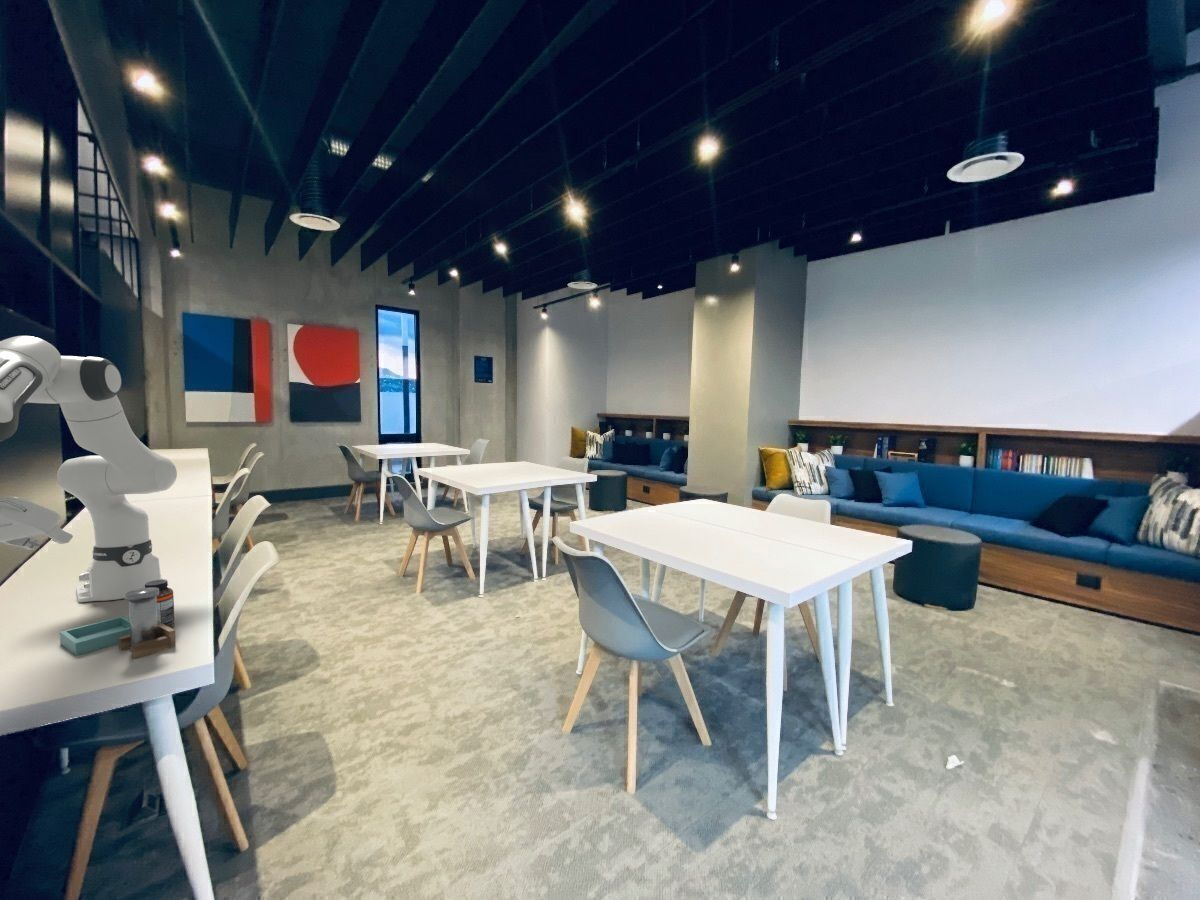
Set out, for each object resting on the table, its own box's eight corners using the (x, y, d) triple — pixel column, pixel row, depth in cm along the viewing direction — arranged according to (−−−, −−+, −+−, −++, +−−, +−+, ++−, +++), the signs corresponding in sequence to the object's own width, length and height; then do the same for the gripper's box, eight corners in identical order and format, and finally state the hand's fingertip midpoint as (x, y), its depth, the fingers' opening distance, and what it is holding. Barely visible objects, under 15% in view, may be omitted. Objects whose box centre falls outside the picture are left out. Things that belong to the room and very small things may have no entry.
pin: (123, 649, 107) (120, 593, 106) (155, 640, 112) (153, 585, 111) (133, 656, 104) (130, 597, 104) (165, 646, 109) (163, 590, 108)
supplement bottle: (135, 631, 116) (132, 584, 115) (165, 621, 122) (163, 576, 121) (150, 635, 114) (148, 587, 113) (180, 625, 120) (178, 579, 119)
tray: (60, 643, 110) (59, 631, 110) (124, 626, 119) (123, 615, 119) (76, 655, 104) (75, 643, 104) (141, 636, 114) (141, 625, 113)
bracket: (118, 648, 108) (118, 632, 108) (158, 636, 114) (158, 621, 113) (134, 658, 103) (134, 642, 103) (175, 646, 109) (174, 630, 109)
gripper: (11, 480, 83) (99, 521, 93) (-58, 498, 89) (32, 535, 99) (-20, 512, 79) (76, 552, 89) (-90, 529, 85) (7, 564, 95)
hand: (52, 543), depth 94 cm, fingers open, 8 cm apart
